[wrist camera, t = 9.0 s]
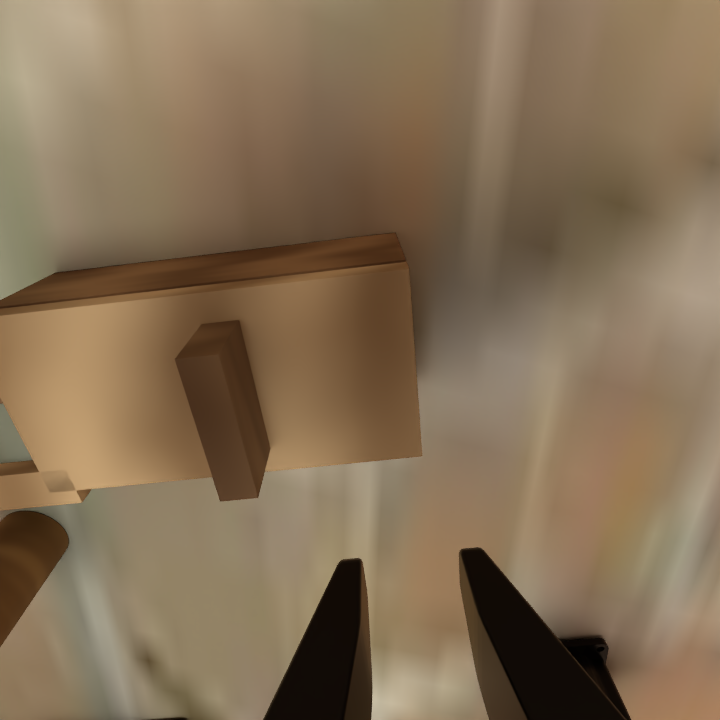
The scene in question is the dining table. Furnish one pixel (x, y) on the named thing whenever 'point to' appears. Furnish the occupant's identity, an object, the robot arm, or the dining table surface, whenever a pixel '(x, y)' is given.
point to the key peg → (26, 561)
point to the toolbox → (210, 270)
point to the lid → (209, 383)
